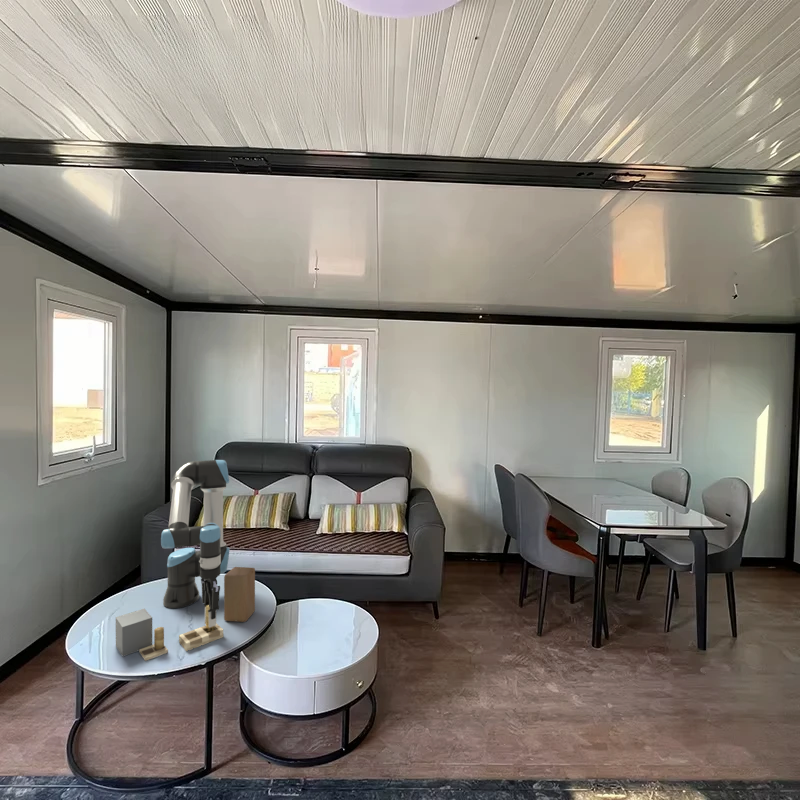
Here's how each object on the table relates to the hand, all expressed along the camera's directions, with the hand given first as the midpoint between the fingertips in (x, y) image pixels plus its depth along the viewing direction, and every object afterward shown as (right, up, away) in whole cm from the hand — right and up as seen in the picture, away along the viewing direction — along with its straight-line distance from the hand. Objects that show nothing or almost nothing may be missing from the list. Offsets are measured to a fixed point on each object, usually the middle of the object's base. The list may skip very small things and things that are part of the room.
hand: (210, 624), depth 177 cm
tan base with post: (-17, -5, -11) cm, 21 cm away
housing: (-27, -5, -7) cm, 28 cm away
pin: (0, -4, 0) cm, 4 cm away
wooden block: (+6, -5, +16) cm, 18 cm away
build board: (-3, -5, -2) cm, 6 cm away
